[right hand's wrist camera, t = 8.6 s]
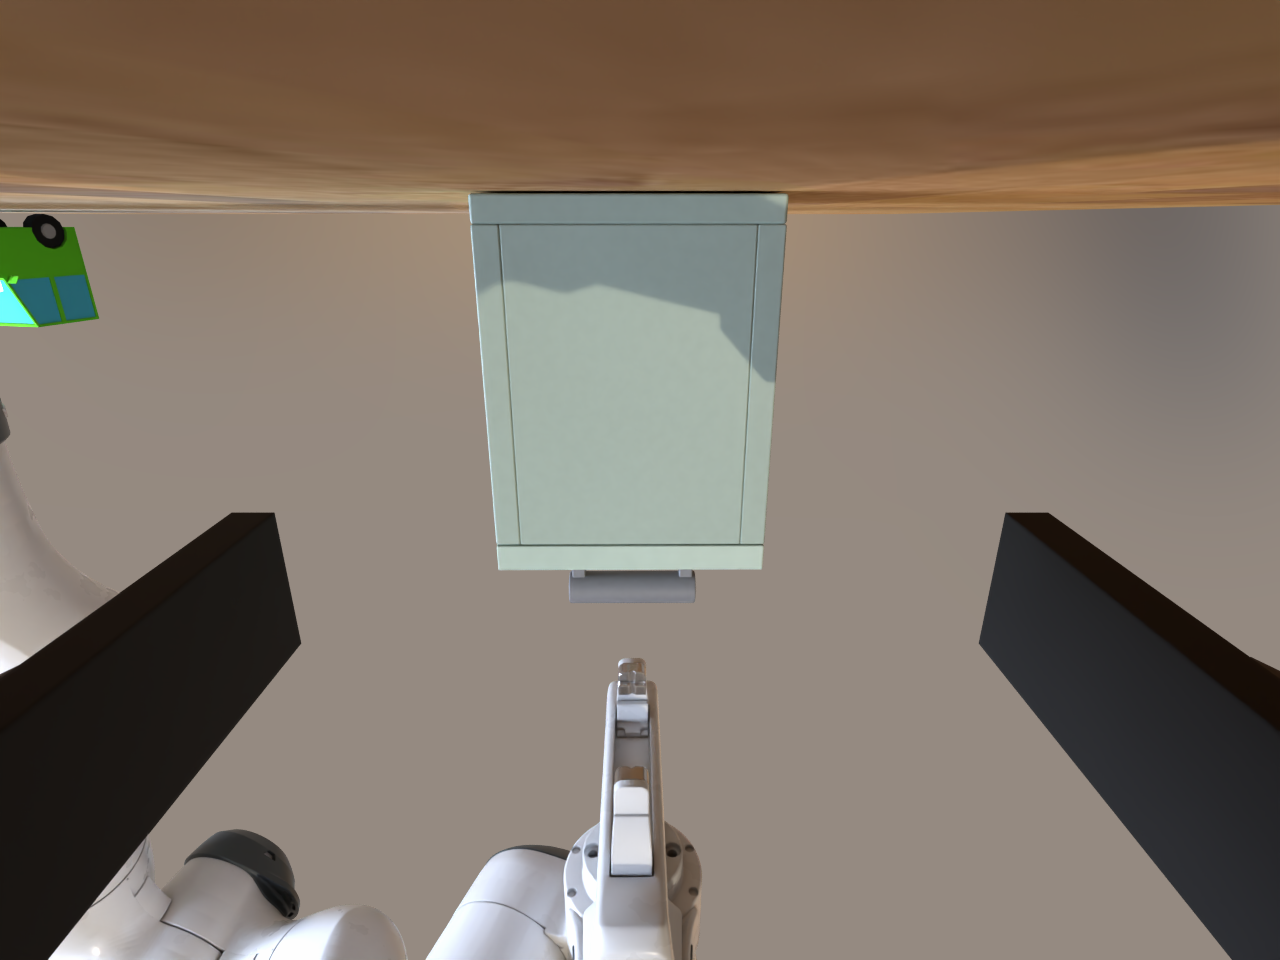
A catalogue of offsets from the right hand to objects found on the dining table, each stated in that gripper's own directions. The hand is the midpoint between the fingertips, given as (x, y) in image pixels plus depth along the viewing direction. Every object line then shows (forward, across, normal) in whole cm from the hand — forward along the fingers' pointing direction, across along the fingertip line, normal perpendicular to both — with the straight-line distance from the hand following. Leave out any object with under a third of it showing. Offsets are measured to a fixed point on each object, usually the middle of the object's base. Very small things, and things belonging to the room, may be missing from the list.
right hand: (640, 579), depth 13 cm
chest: (+17, 0, -7) cm, 18 cm away
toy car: (+55, +61, -7) cm, 82 cm away
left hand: (+21, 0, +20) cm, 29 cm away
